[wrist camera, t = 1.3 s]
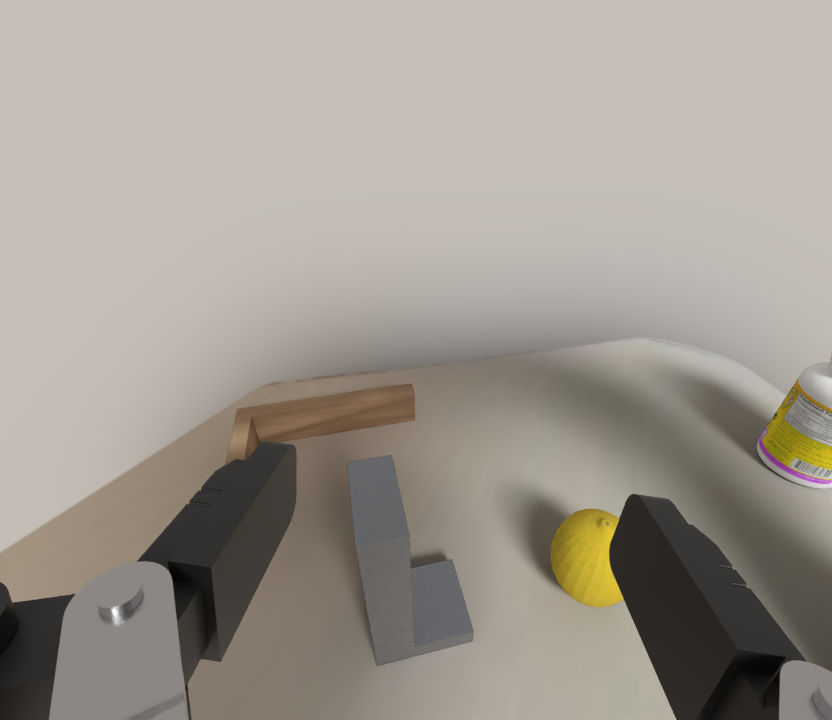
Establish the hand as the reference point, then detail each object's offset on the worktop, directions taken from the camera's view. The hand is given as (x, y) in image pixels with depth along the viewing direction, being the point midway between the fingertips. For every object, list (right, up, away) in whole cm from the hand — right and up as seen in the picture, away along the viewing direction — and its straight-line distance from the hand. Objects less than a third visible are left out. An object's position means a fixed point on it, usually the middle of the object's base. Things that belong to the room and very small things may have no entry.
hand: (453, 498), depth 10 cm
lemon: (+11, -14, +21) cm, 27 cm away
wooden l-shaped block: (-9, -7, +30) cm, 32 cm away
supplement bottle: (+36, -7, +30) cm, 47 cm away
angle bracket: (-1, -15, +19) cm, 24 cm away
